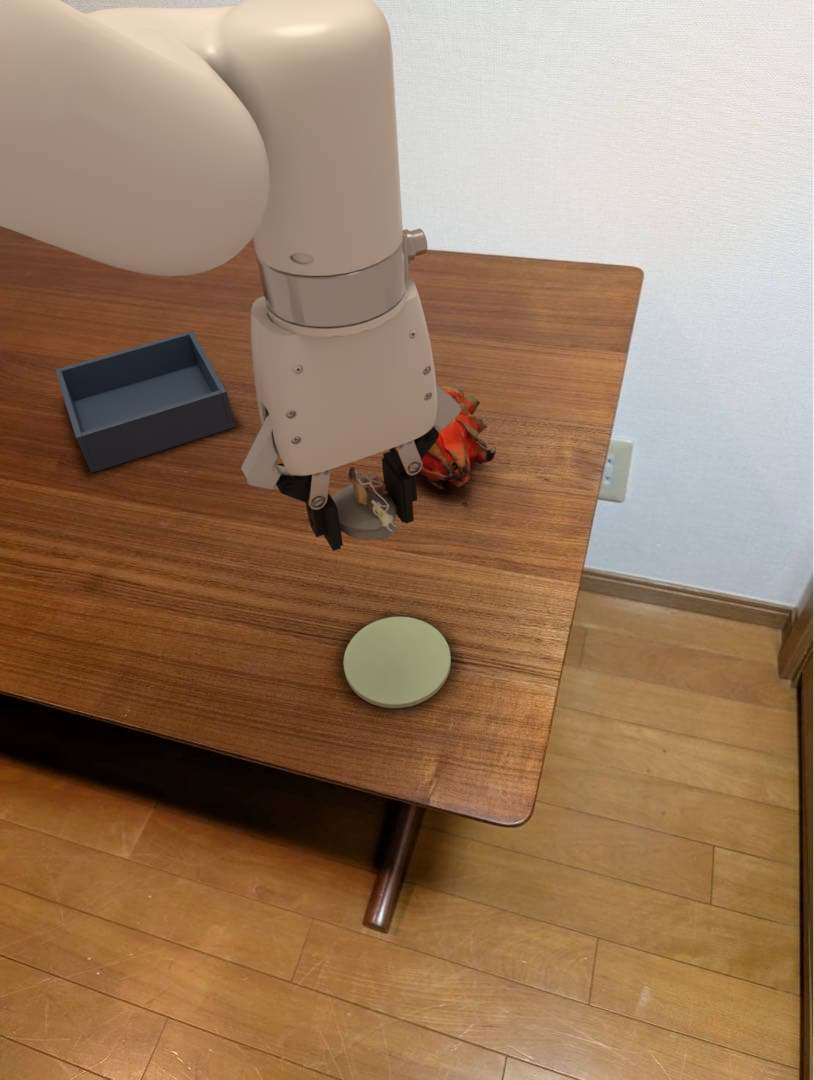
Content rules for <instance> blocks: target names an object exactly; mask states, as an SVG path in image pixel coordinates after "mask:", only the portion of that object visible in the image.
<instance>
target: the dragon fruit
mask: <svg viewBox="0 0 814 1080" xmlns="http://www.w3.org/2000/svg"><path fill="white" fill-rule="evenodd" d="M441 387H442V388H443V389H444V390H445V391H446V392H447V393H449V394H450V395H451V396H452V397H453V398H454V400H455V401H456V402H457V403H458V404H459V405H460V407H461V412H460V414H459V415H458V416H457V417H456V418H455V419H454V420H453V421H452V422H451V423H450V424H449V425H448V426H447V427H446V428H445V429H444V430H443V431H440V432H439V437H438V439H437V441H436V442H435V443H434V445H433V446H432V447H431V448H430V450H429V451H428V452H427V454H426V455H425V456H424V457H423V459H422V460H421V461H422V464H423V466H422V469H421V471H420V472H419V473H421V475H423V476H424V477H425V478H426V480H427V481H428V482H429V483H430V484H432V485H433V486H435V487H437V488H438V489H439V490H443V491H446V488H445V487H444V483H445V482H446V481H448V482H450V483H451V484H452V485H453V486H455V487H457V488H461V487H462V486H464V484H466V483H467V482H469V481H470V480H471V479H472V477H471V475H470V472H471V463H475V464H478V465H483V464H485V463H489V462H491V461H492V460H494V458H495V455H496V453H497V447H491V448H490V449H487V448H488V446H487V443H486V442H485V441H484V440H482V439H481V438H479V435H480V434H481V433H482V432H483V431H484V430H485V429H487V428H488V424H487V423H486V422H485V421H484V420H483V419H481V418H477V417H476V416H475V415H474V413H475V412H476V411H477V408H478V407H479V405H480V404H481V402H480V401H479V399H478V398H477V397H475V396H473V395H468V396H465V393H464V391H462V390H460V389H458V388H456V387H455V386H453V385H451V384H446V385H443V386H441Z"/></svg>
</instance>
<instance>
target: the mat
mask: <svg viewBox="0 0 814 1080" xmlns="http://www.w3.org/2000/svg"><path fill="white" fill-rule="evenodd" d="M451 656H452V655H451V650H450V646H449V644H448V642H447V640H446V638H445V637H444V635H442V633H441V632H440V631H439V630H438V629H437V628H435V627H434V626H433V625H431V624H429V623H428V622H426V621H424V620H421V619H419V618H418V619H417V618H415V617H411V616H389V617H385V618H381V619H378V620H375V621H373V622H371V623H368V624H367V625H365V626H364V627H362V628H361V629H360V630H358V632H357V633H355V634H354V636H353V637H352V638H351V639H350V641H349V642H348V644H347V646H346V649H345V650H344V654H343V671H344V676H345V679H346V682H347V684H348V685H349V687H350V689H351V690H352V691H353V692H354V693H355V694H356V696H358V697H359V698H360V699H362V700H363V701H365V702H367V703H369V704H371V705H374V706H377V707H381V708H386V709H404V708H409V707H410V708H411V707H413V706H416V705H419V704H422V703H423V702H426V701H427V700H429V699H430V698H432V697H433V696H434V695H436V694H437V693H438V692H439V691H440V689H441V688H443V686H444V685H445V683H446V681H447V679H448V678H449V675H450V671H451V667H452V661H451V660H452V659H451Z"/></svg>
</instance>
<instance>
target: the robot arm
mask: <svg viewBox="0 0 814 1080" xmlns="http://www.w3.org/2000/svg"><path fill="white" fill-rule="evenodd" d="M393 54H394V53H393V44H392V35H391V31H390V27H389V24H388V21H387V18H386V16H385V14H384V13H383V11H382V9H380V7H379V6H378V4H376V2H374V1H373V0H244V1H243V2H241V3H240V4H237V5H231V6H215V7H213V6H211V7H209V6H207V7H140V6H139V7H114V8H105V9H99V10H94V11H90V12H88V13H84V12H82V11H81V10H78V9H76V8H75V7H73V6H71V5H69V4H68V3H66V2H64V1H62V0H0V227H2V228H5V229H8V230H10V231H12V232H16V233H17V234H21V235H24V236H26V237H29V238H32V239H34V240H37V241H40V242H43V243H46V244H49V245H50V246H54V247H56V248H60V249H62V250H65V251H66V252H67V251H68V252H70V253H72V254H76V255H78V256H81V257H84V258H87V259H89V260H92V261H96V262H98V263H100V264H105V265H108V266H110V267H113V268H117V269H121V270H125V271H128V272H132V273H137V274H142V275H148V276H159V277H165V278H166V277H187V276H192V275H193V276H194V275H197V274H202V273H207V272H210V271H211V270H214V269H216V268H218V267H220V266H223V265H224V264H226V263H227V262H229V261H230V260H232V259H233V258H234V257H235V256H237V255H238V254H239V253H241V252H242V250H244V248H245V247H246V246H247V245H248V244H249V243H250V242H251V241H253V246H254V251H255V256H256V262H257V267H258V271H259V277H260V281H261V287H262V292H263V296H260V297H258V298H256V299H255V300H254V301H253V303H252V305H251V308H250V349H251V362H252V371H253V380H254V387H255V395H256V401H257V408H258V415H259V419H260V425H261V426H260V428H259V431H258V433H257V434H256V438H255V439H254V441H253V443H252V445H251V446H250V448H249V450H248V453H247V455H246V457H245V459H244V460H243V463H242V464H241V467H240V472H241V474H242V476H243V478H244V480H245V482H246V483H247V485H248V486H250V487H254V488H257V489H264V490H269V491H274V490H276V491H279V492H280V493H281V494H282V495H284V496H287V497H290V498H292V499H295V500H298V501H300V502H304V504H305V507H306V508H305V509H306V514H307V518H308V523H309V525H310V529H311V530H312V532H313V534H314V536H315V537H316V538H319V537H324V538H325V540H326V542H327V543H328V546H329V547H330V548H331V551H332V552H335V551H338V550H340V549H341V548H342V546H344V543H343V542H344V541H343V537H342V533H341V529H340V523H339V516H338V510H337V506H336V504H335V502H334V501H333V499H332V495H331V494H330V483H331V477H332V475H331V474H332V470H333V469H336V468H338V467H341V466H345V465H347V464H350V463H353V462H356V461H360V460H362V459H365V458H368V457H371V456H373V455H377V454H380V453H382V452H384V453H383V454H382V456H383V458H381V466H382V467H381V468H382V476H383V477H382V479H383V482H384V483H385V485H386V491H388V493H387V494H388V495H389V496H390V497H391V498H392V499H393V501H394V503H395V505H396V507H397V513H396V517H398V519H399V520H400V521H401V523H402V524H404V523H405V524H409V523H412V522H414V521H415V519H414V505H413V504H414V502H416V501H418V491H417V490H418V489H417V474H419V473H421V472H420V471H421V469H422V466H423V464H422V461H421V460H422V459H423V457H424V456H425V455H426V454H427V452H428V451H429V450H430V448H431V447H432V446H433V445H434V443H435V442H436V441H437V439H438V437H439V432H440V431H443V430H444V429H445V428H446V427H447V426H448V425H449V424H450V423H451V422H452V421H453V420H454V419H455V418H456V417H457V416H458V415H459V414H460V412H461V407H460V405H459V404H458V403H457V402H456V401H455V400H454V398H453V397H452V396H451V395H450V394H449V393H447V392H446V391H445V390H444V389H443V388H442V386H441V385H440V384H439V383H438V382H437V379H436V377H437V376H436V369H435V363H434V362H435V361H434V356H433V355H434V354H433V349H432V345H431V344H432V343H431V338H430V335H429V330H428V326H427V321H426V316H425V312H424V309H423V306H422V302H421V298H420V295H419V292H418V289H417V285H416V283H415V282H414V280H413V279H412V278H411V277H410V263H411V261H414V260H415V259H416V257H418V256H422V255H426V254H427V253H428V241H427V236H426V234H425V232H424V231H423V229H422V228H416V229H412V230H409V229H407V228H406V229H403V228H404V227H403V212H402V211H403V210H402V195H401V194H402V192H401V177H400V176H401V175H400V159H399V141H398V139H399V138H398V125H397V124H398V121H397V109H396V108H397V107H396V106H397V105H396V91H395V73H394V56H393ZM388 450H389V451H388ZM385 451H386V452H385ZM278 458H279V459H281V461H282V463H278V464H276V463H277V460H278Z"/></svg>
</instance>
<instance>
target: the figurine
mask: <svg viewBox="0 0 814 1080" xmlns="http://www.w3.org/2000/svg"><path fill="white" fill-rule="evenodd" d="M373 469H374V471H372V472H371V473H370V474H368V475H367V474H364V473H358V470H357V468H355V467H354V466H351V467H350V468H349V470H348V474H347V479H348V482H351V483H352V484H350V485H347V486H346V487H343V488H342V489H341V490H339V491H337V492H336V493H334V494H333V495H331V497H332V499H333V501H334V502H335V504H336V506H337V510H338V516H339V523H340V529H341V534H345V535H347V536H348V537H351V538H354V539H355V538H356V539H360V540H371V539H372V540H373V539H374V540H384V539H388V538H390V537H392V536H394V535H395V533H396V532H397V530H398V526H397V524H396V523H395V522H396V519H397V514H396V513H397V507H396V505H395V503H394V501H393V499H392V498H391V497H390V496H389V495H388V494H387V493H388V491H386V485H385V483H384V479H383V478H381V477H380V476H378V474H376V467H373ZM373 475H375V476H373ZM370 477H371V478H370Z"/></svg>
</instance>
